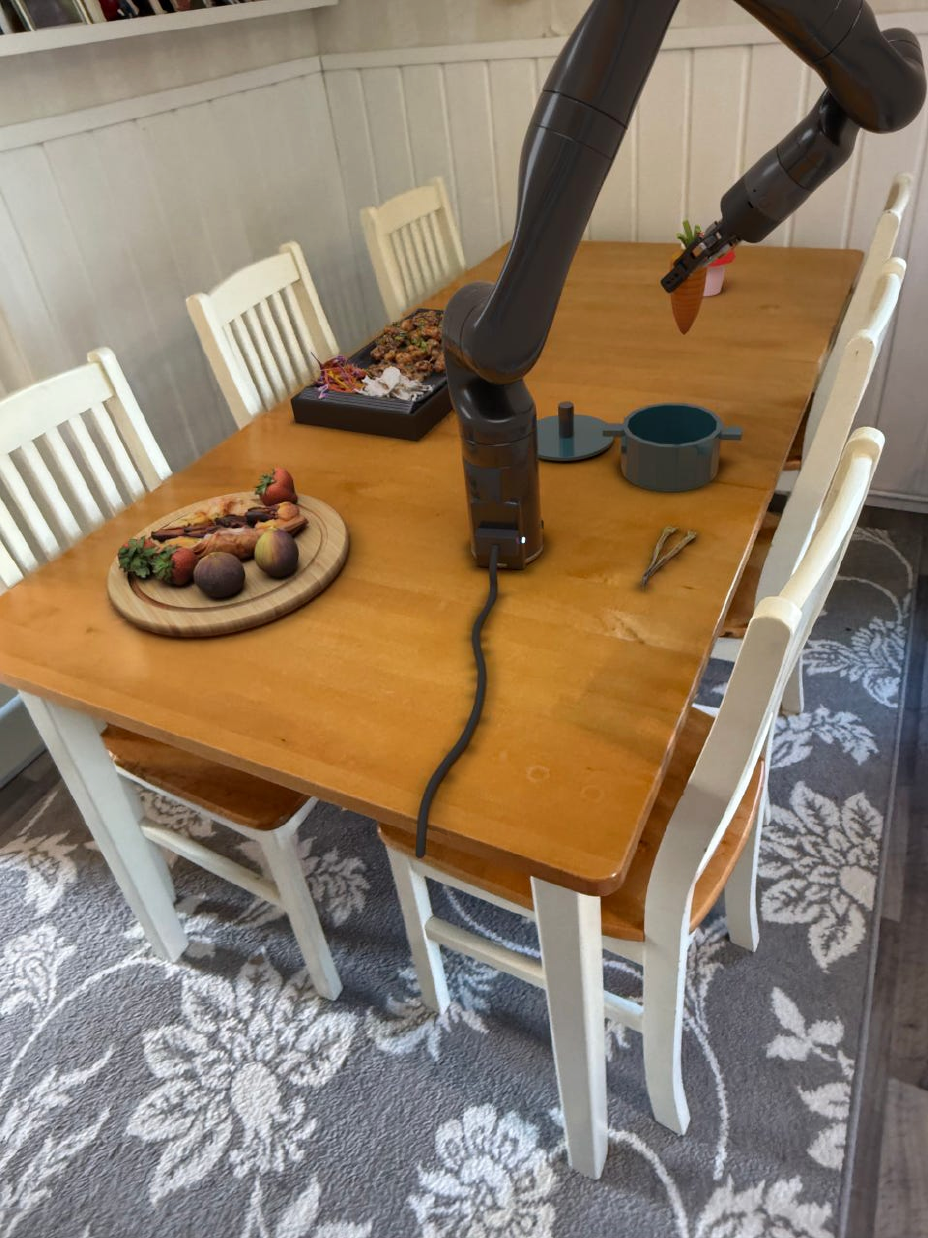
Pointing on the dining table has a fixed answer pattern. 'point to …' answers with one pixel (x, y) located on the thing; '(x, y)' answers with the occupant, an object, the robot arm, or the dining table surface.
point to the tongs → (679, 546)
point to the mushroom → (716, 273)
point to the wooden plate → (229, 561)
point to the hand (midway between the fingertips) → (675, 281)
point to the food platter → (383, 383)
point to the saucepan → (671, 446)
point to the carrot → (688, 286)
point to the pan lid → (570, 435)
